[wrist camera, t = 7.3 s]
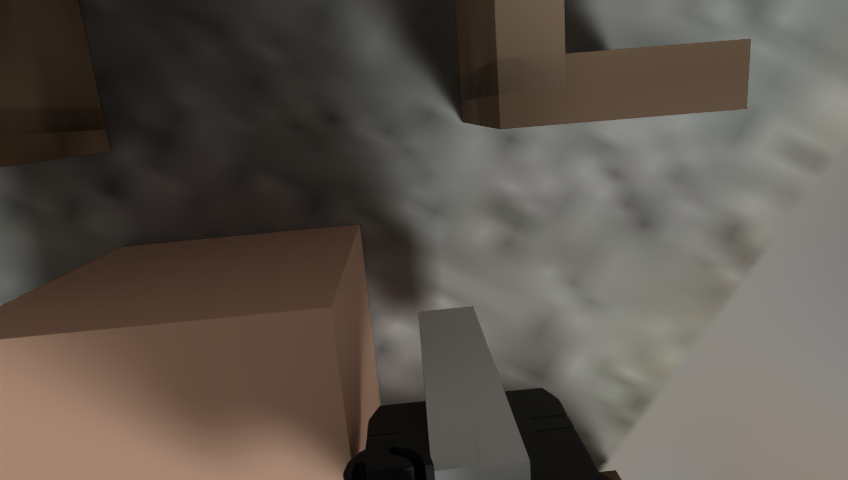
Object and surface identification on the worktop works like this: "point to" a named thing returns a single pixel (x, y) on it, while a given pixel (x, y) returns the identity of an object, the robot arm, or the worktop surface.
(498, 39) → the frame
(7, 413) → the block
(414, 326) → the worktop surface
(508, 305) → the worktop surface
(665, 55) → the low walled maze tray
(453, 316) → the robot arm
